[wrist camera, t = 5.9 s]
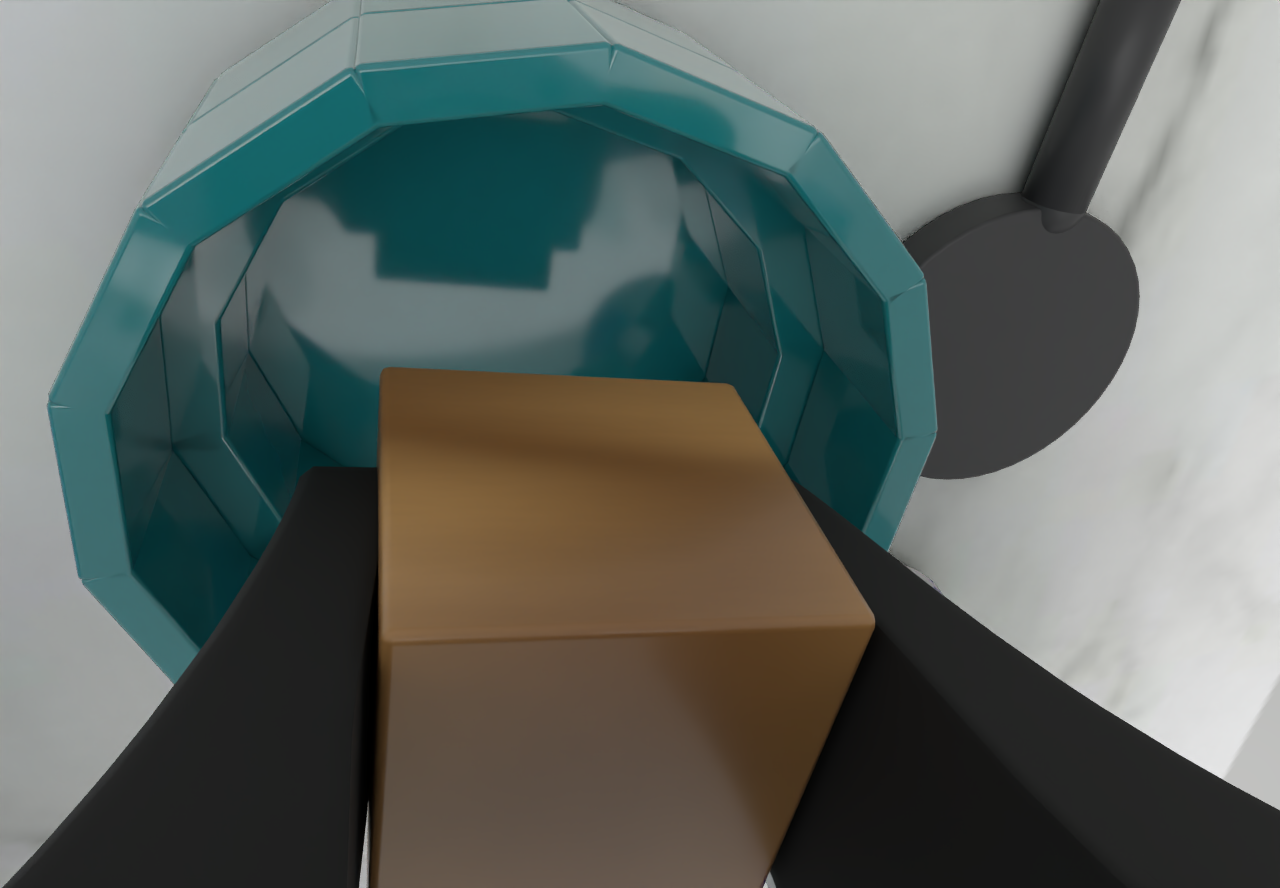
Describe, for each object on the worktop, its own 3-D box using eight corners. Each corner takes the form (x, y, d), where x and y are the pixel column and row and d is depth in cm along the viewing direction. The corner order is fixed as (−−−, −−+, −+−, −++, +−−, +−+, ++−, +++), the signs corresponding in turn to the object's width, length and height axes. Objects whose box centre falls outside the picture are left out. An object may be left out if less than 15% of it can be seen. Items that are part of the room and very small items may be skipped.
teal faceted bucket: (188, 541, 15) (118, 810, 11) (125, -110, 10) (-43, -62, 6) (708, 538, 17) (805, 754, 13) (853, 20, 13) (1072, 116, 9)
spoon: (1038, 459, 18) (1068, 489, 18) (803, 453, 17) (824, 485, 16) (1310, -93, 13) (1369, -87, 12) (1008, -171, 12) (1055, -171, 11)
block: (369, 637, 10) (365, 949, 7) (379, 362, 8) (379, 637, 5) (666, 628, 11) (761, 900, 8) (734, 380, 9) (883, 620, 6)
